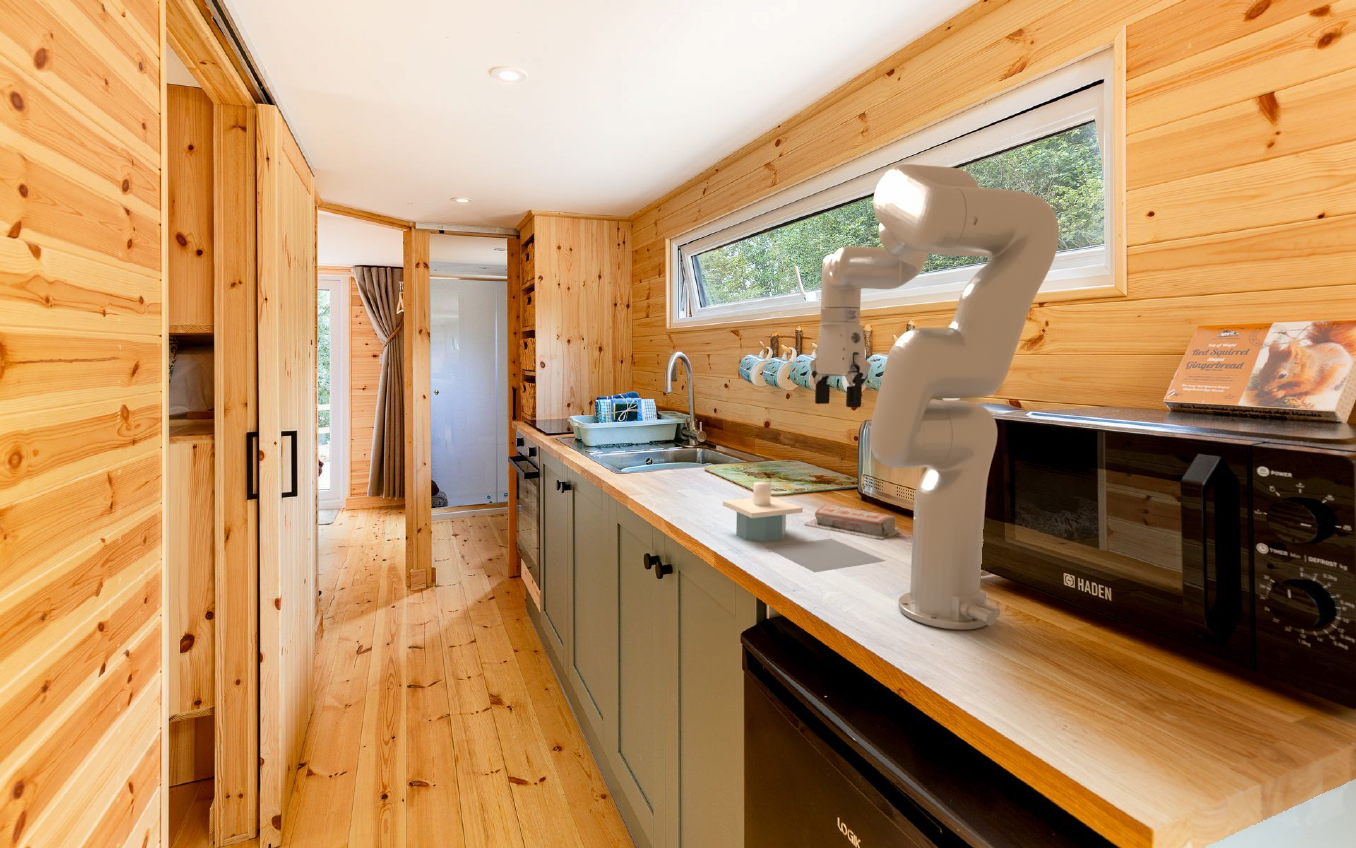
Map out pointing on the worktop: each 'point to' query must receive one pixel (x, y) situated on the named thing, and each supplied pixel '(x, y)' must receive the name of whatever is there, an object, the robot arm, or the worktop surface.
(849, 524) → the packaged product
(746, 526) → the bowl
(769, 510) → the lid
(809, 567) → the mat
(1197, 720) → the worktop surface
